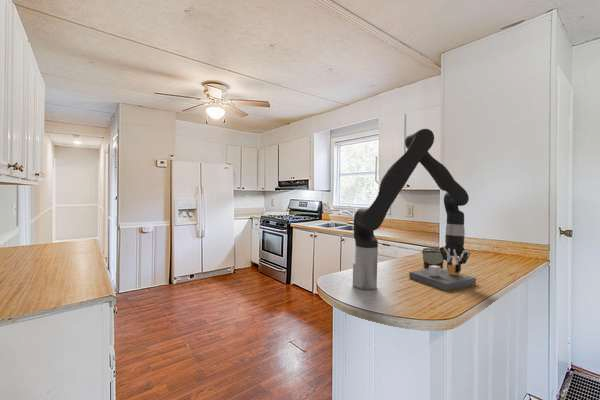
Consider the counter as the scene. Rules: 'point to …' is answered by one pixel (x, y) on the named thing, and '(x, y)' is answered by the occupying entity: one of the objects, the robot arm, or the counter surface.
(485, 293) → the counter surface
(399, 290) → the counter surface
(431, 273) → the grey fader
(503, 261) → the counter surface
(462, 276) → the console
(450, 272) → the orange fader
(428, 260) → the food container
